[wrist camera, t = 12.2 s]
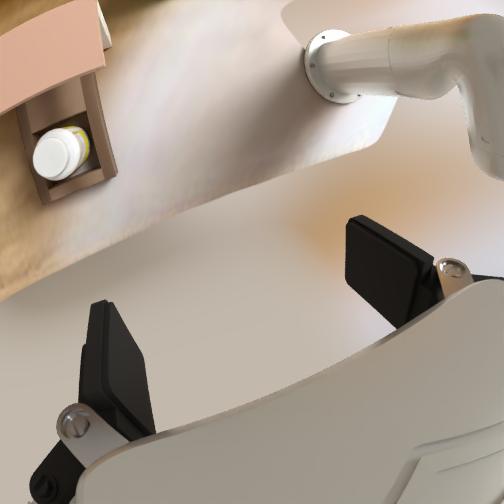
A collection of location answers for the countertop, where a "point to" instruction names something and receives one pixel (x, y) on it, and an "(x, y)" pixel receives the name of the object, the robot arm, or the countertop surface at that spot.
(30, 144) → the socket block
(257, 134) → the countertop surface
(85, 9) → the pink-topped white panel
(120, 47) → the countertop surface
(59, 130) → the supplement bottle
